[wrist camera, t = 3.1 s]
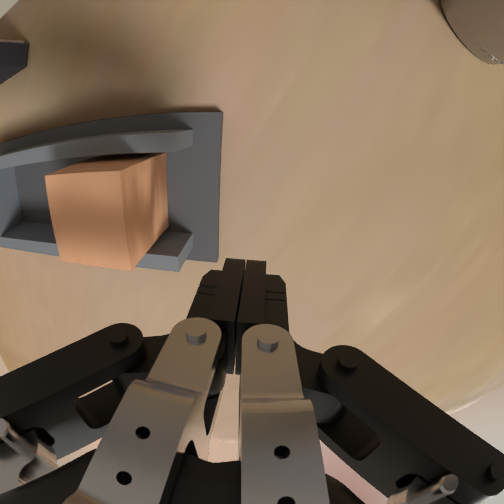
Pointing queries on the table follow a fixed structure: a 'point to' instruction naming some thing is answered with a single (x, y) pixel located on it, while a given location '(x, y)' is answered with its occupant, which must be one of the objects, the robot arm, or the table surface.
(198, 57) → the table surface
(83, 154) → the chute
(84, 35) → the table surface
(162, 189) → the block
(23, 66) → the dark grey upright box
